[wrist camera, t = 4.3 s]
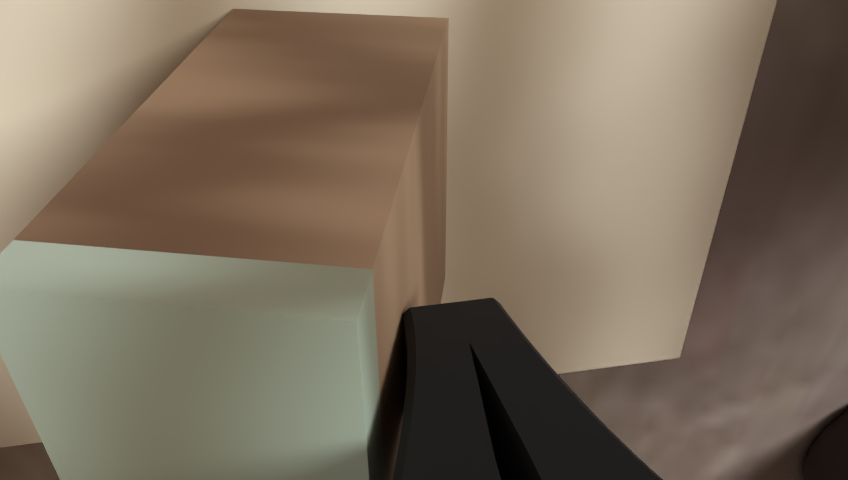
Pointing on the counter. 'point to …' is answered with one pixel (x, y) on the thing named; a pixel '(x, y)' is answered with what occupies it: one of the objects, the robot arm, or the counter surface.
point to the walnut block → (242, 260)
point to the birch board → (461, 146)
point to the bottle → (829, 453)
